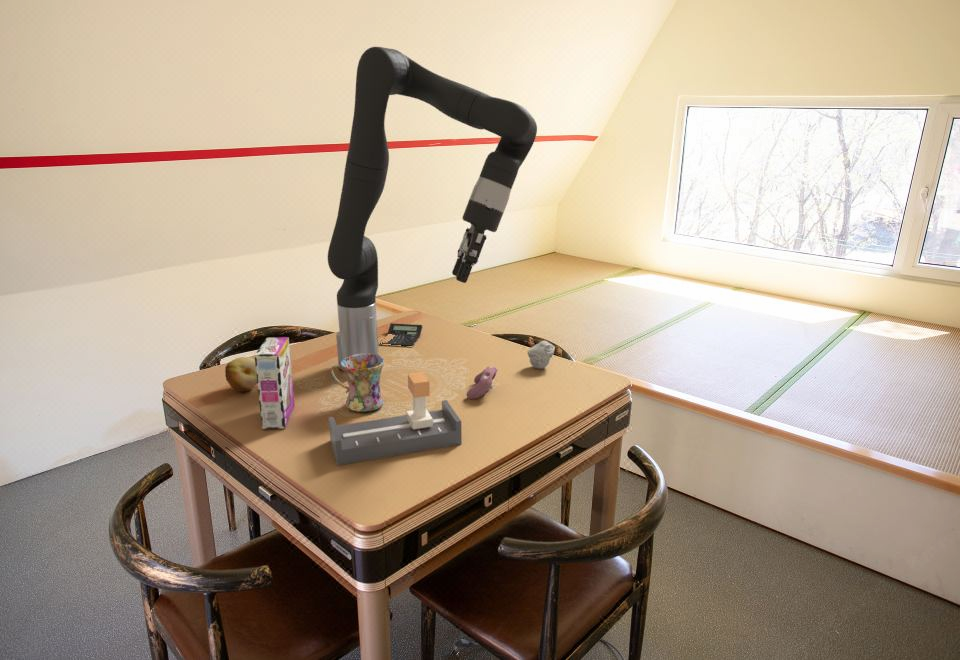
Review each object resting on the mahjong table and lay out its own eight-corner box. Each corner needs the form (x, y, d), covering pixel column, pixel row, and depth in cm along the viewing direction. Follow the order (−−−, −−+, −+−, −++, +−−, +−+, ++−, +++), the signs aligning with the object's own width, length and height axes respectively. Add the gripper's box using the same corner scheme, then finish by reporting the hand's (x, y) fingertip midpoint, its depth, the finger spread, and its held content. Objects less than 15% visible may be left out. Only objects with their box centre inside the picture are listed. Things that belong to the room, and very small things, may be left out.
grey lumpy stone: (557, 371, 163) (558, 344, 161) (530, 373, 161) (531, 347, 159) (549, 362, 169) (550, 336, 166) (523, 364, 167) (524, 339, 165)
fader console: (446, 421, 137) (446, 400, 135) (461, 443, 128) (461, 421, 126) (330, 440, 129) (328, 417, 128) (337, 465, 121) (335, 441, 119)
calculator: (379, 346, 181) (378, 336, 180) (391, 332, 192) (391, 322, 191) (412, 348, 179) (411, 337, 178) (422, 334, 190) (422, 324, 189)
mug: (391, 398, 148) (389, 354, 145) (379, 416, 139) (376, 370, 136) (341, 395, 150) (337, 351, 146) (325, 412, 141) (321, 367, 138)
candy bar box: (286, 429, 134) (278, 354, 129) (261, 430, 133) (252, 355, 128) (296, 405, 144) (289, 335, 139) (273, 406, 144) (265, 336, 139)
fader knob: (426, 415, 132) (424, 371, 129) (433, 426, 128) (431, 380, 124) (406, 418, 131) (405, 374, 128) (412, 429, 126) (411, 383, 123)
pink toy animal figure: (481, 407, 147) (495, 383, 145) (464, 397, 147) (477, 373, 145) (490, 389, 156) (503, 366, 154) (473, 380, 156) (486, 356, 154)
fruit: (225, 398, 148) (221, 365, 145) (231, 384, 156) (226, 352, 153) (260, 395, 149) (256, 363, 147) (264, 381, 157) (260, 350, 154)
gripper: (465, 197, 139) (438, 268, 142) (474, 198, 126) (444, 276, 128) (498, 210, 141) (470, 280, 143) (510, 212, 127) (479, 290, 130)
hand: (458, 278), depth 136 cm, fingers open, 8 cm apart
